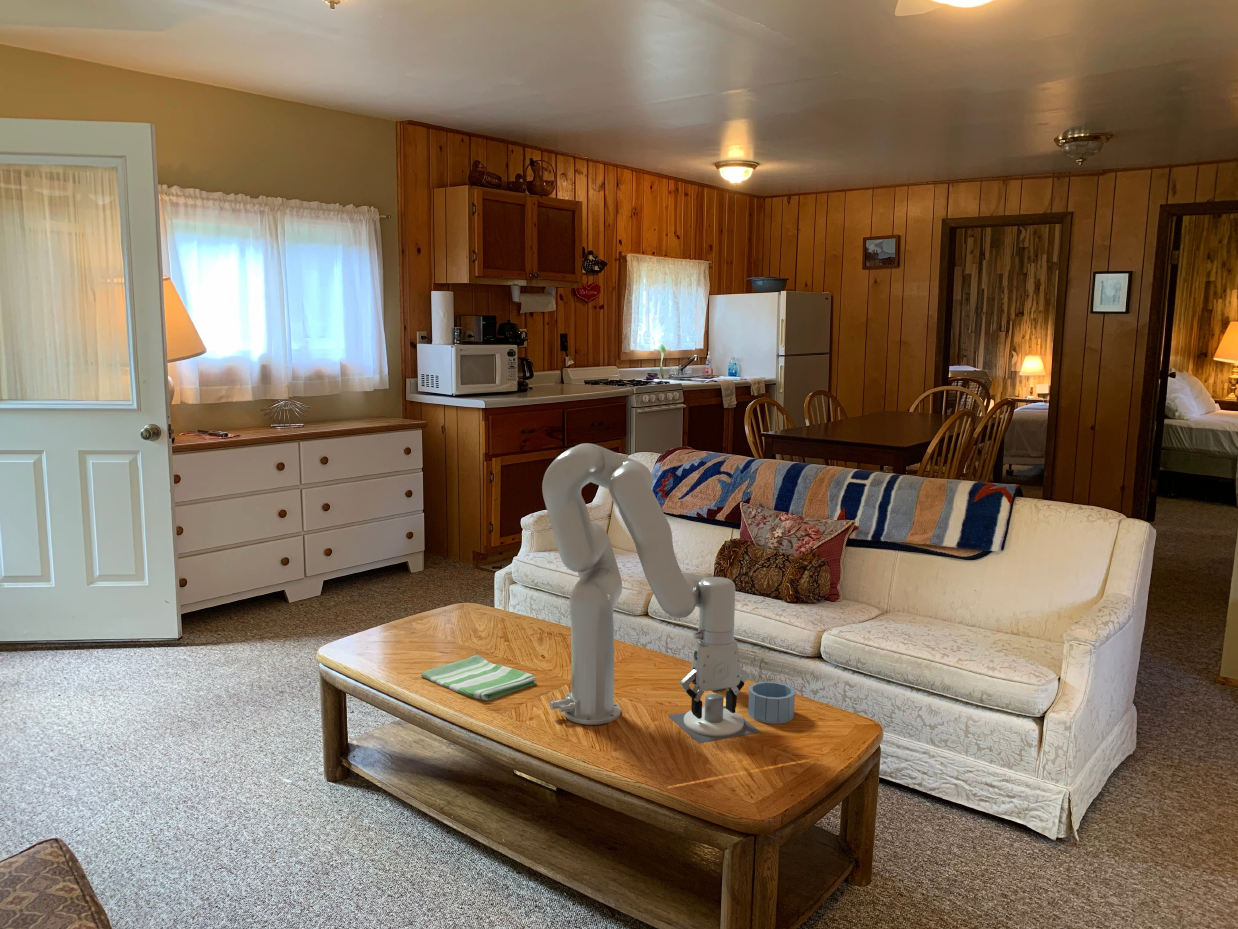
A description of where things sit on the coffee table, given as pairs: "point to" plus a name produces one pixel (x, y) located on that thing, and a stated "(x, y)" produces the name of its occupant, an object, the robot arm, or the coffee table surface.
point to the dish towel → (479, 678)
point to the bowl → (771, 702)
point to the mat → (700, 738)
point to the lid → (714, 719)
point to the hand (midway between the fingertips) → (713, 713)
